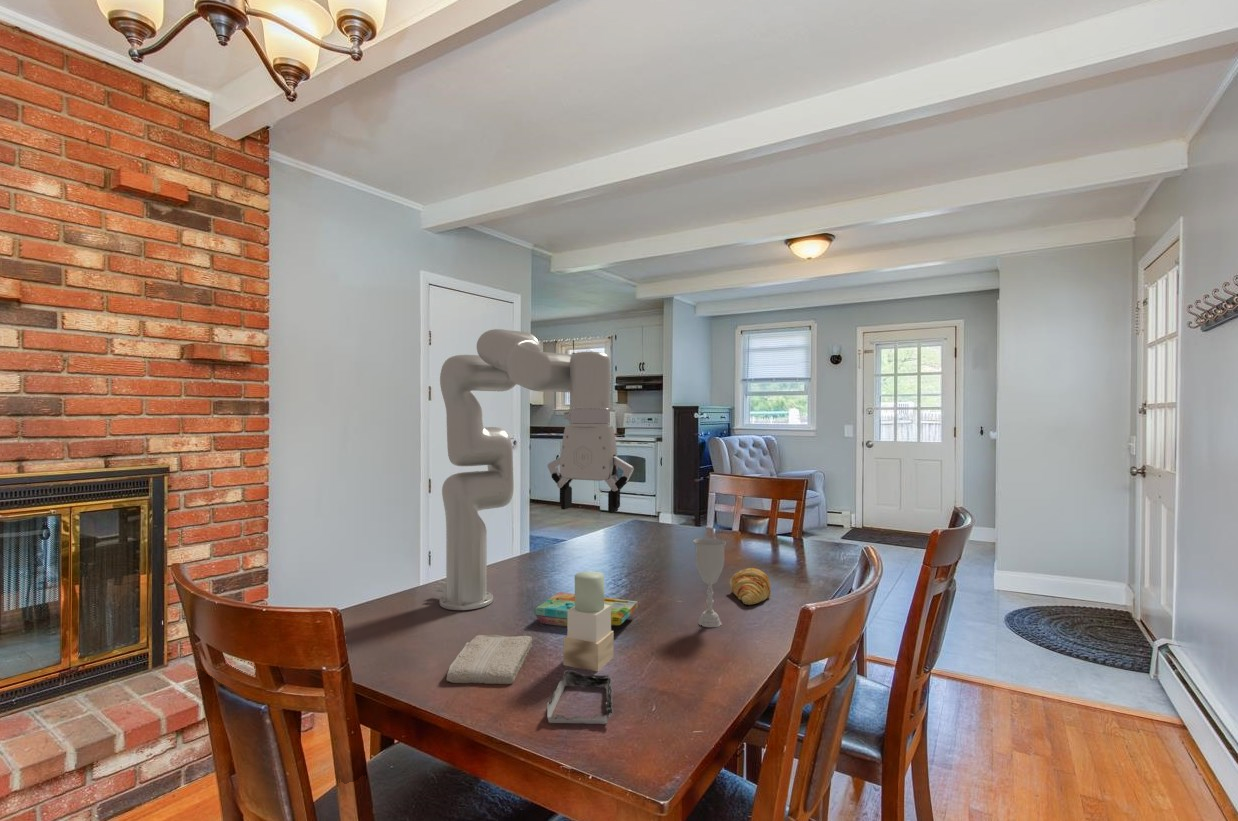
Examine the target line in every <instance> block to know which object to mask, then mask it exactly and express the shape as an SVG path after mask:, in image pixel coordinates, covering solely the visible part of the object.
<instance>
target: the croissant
mask: <svg viewBox="0 0 1238 821" xmlns="http://www.w3.org/2000/svg"><path fill="white" fill-rule="evenodd" d="M728 584H729V587H730V589H731V591H732V593H733V594H734V596H736V597H737V599H738V600H740V601H741V602H742V603H743V605H748V606H751V605H755V604H759V603H761V602H764V601H765V600H766V599H769V598H770V597H771V583H770V579H769V576H768V575H767V574H766V572H763V571H762V570H760V569H759V568H757V567H746V568H744V569H743V568H742V569H741V570H739V571H737V572H736V573H734V574H733V575H732V577H730V579H729V583H728Z"/></svg>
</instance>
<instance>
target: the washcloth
mask: <svg viewBox="0 0 1238 821" xmlns="http://www.w3.org/2000/svg"><path fill="white" fill-rule="evenodd" d="M532 642H533V638H532V636H529V635H519V636H504V635H499V634H478V635H475V637H474V638H472V640H470V642H469V641H468V642H465V644H464V647H463V648H462V649H461V650H460V652H459V653H458V654H457V655H456V658H455V659H454V660H453V662H451V664H450V665H449V668H448V671H447V674H446V681H447V682H450V683H453V684H469V683H471V684H472V683H473V684H484V683H485V684H484V685H490V684H491V685H511V684H513V683H514V681H515V679H516V678H517V676H518V673H519V672H520V670H521V669H520V668H522V667H523V664H524V662H525V660H526V658H527V656H528V654H529V652H530V651H529V650H531V649H532V647H533V644H532ZM527 653H528V654H527ZM525 657H526V658H525Z"/></svg>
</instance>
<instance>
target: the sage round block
mask: <svg viewBox="0 0 1238 821" xmlns="http://www.w3.org/2000/svg"><path fill="white" fill-rule="evenodd" d="M574 594H575V609H576V610H577V611H579V612H585V613H593V612H598V611H601V610H603V609H604V598H605V574H604V573H603V572H598V571H591V570H590V571H589V570H588V571H581V572H578V573H576V574H574Z"/></svg>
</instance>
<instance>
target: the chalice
mask: <svg viewBox="0 0 1238 821" xmlns="http://www.w3.org/2000/svg"><path fill="white" fill-rule="evenodd" d="M693 543H694V545H695V565H696V568H697V571H698V573H699V575H700V578H701V580H702V581H703V582H704V583H705V584H707V585H706V586H707V590H706V592H705V593H706V594H707V595H706V596H707V599H706V600H705V602H706V604H707V609H706V610H704V611H703V612H701V615H700V617H699V620H698V622H697V623H698V625H699V626H701V625H702V627H704V628H705V627H706V628H718V627H721V626H722V622H721V619H720V617H719V614H718V613H717V612H716V611H714V609H713V604H714V602H715V600H714V599H713V594H714V591H713V585H714V584H716V583H717V582H718V580H719V578H720V575H721V574H722V571H723V569H724V565H725V546H726V544H727V541H726V540H724V539H722V538H721V539H720V538H714V537H702V538H701V537H698V538H696V539H693ZM720 625H721V626H720Z"/></svg>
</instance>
